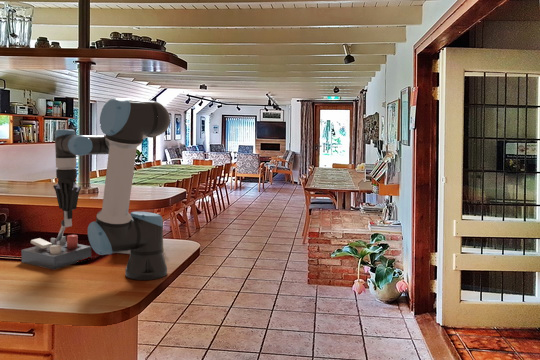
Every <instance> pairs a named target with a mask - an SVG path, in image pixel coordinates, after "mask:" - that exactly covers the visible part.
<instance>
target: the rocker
mask: <svg viewBox="0 0 540 360" xmlns="http://www.w3.org/2000/svg"><path fill="white" fill-rule="evenodd" d="M30 244H31V245H34V246H38V247H41V248H47V247H50V246H52V243H51V241H50V242H49V241H47V240H45V239H43V238H41V237H39V238H34V239H31V240H30Z"/></svg>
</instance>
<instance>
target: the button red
mask: <svg viewBox="0 0 540 360" xmlns="http://www.w3.org/2000/svg"><path fill="white" fill-rule="evenodd" d="M78 238H79V237H78V235H77V234H68V235H66V242H67V249H76V248H78V244H79V243H78V241H79V240H78Z"/></svg>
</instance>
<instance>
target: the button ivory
mask: <svg viewBox="0 0 540 360" xmlns="http://www.w3.org/2000/svg"><path fill="white" fill-rule="evenodd" d="M50 253H51V254H58V253H61V245H52V246H50Z"/></svg>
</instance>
